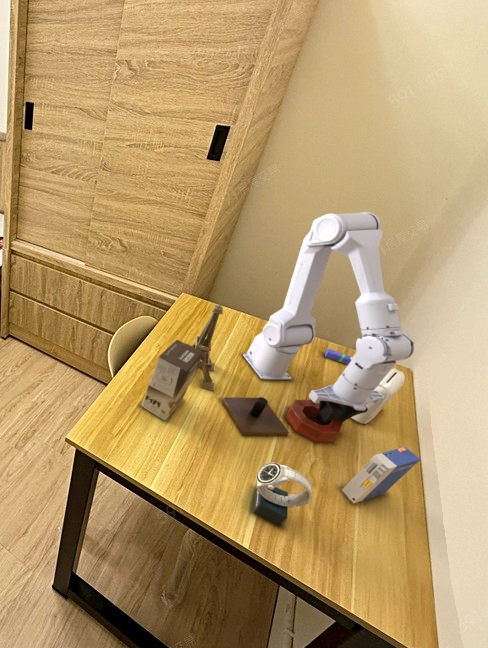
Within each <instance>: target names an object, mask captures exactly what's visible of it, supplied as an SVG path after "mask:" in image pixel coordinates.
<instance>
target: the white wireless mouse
mask: <svg viewBox="0 0 488 648" xmlns="http://www.w3.org/2000/svg"><path fill="white" fill-rule="evenodd" d="M405 381H406V377H405V374H404V373H403V371H402V370H398V368H394V367H393V368H392V369H391V370H390V371H389V373H388V374H387V375H386V376H385V378H384V379H383V380H382V381H381V382H380V384H379V385H378V386H377V387H376V388H375V390H374V391H378V392H379V393H380V394H381V395H383V396H384V397H385V398H384V399H383V400H382V401H381V403H374V402H371V403H369V404H366V405H365V406H366V407H367V408H368V411H367V412H365V413H361V414H358V415H355V416H353V417H351V418H350V419H352V420H354V421H355V422H357V423H360V424H363V425H366V424H368V423H370V422H371V421H373V419H374V418H375V417H376V416H377V415H378V414H379V413H380V412H381V410H382V409H383V408H384V407H385V406H386V405H387V403H388V402H389V401H390V400H391V399H392V398H393V397H394V396H395V395H396V393H398V391H399V390H400V389H401V387H402V386H403V385H404V383H405Z"/></svg>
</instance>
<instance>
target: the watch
mask: <svg viewBox="0 0 488 648" xmlns="http://www.w3.org/2000/svg"><path fill="white" fill-rule="evenodd" d="M256 481H257V483H256V488H255V491H254V501H253V502H254V503H253V511H252V512H253V514H254V515H256V516H259V517H260V518H263V519H265V520H266V521H268V522H271V523H272V524H275V525H277V526H279V527H281V526H282V524H283V523H284V522H285V521H286V520H287V519H288V512H289V511H288V508H289V509H291V508H298V507H302V506H305V505H308V504H310V501H311V500H312V498H313V495H312V484H311V481H309V479H308V478H307V477H306V476H305V475H304V474H303V473H301V472H300V471H298V470H296V469H294V468H291V467H290V466H288V465H284V464H279V463H278V462H275V461H271V462H268V463H266V464H264V465H263V466H261V467H260V468H259V470H258V471H257V473H256ZM289 481H293V482H295V483H297V484H299V486H301V487H303V488H304V489H305V490H302V491H301V492H298V493H292V494H289V492H288V491H286V490H284V489H281V488H279V486H281V485H282V484H284V483H288V482H289Z"/></svg>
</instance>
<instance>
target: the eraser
mask: <svg viewBox="0 0 488 648" xmlns="http://www.w3.org/2000/svg"><path fill="white" fill-rule="evenodd" d="M324 358H327V359H330V360H334V361H336V362H339V363H342V364H345V365H346V366H348V365H349V363H350V362H351V360H352V359H353V358H354V357H353V356H351V355H348V354H345V353H343V352H340V351H337V350H334V349H331V348H327V349H326V351H325V353H324Z"/></svg>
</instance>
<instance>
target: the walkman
mask: <svg viewBox="0 0 488 648" xmlns="http://www.w3.org/2000/svg"><path fill="white" fill-rule="evenodd" d="M420 461H421V458H420V457H419V456H418V455H416V454H415V453H414V452H413V451H411V450H410V449H409V448H407V446H401V447H398V448H395V449H391V450H388V451H384V452H381V453H377V454H374V455H373V456H372V457H371V458H370V460H368V461H367V463H366V464H365V465H364V466H363V467H362V468H361V469H360V470H358V472H356V474H355V475H354V476H353V477H352V478H351V479H350V480H349V481H348V483H347V484H346V485H345V486H344V487H343V488H342V489H341V492H343V494H345V496H346V497H347V498H348V499H349V501H350V502H351V503H353V504H357V503H361V502H362V501H367V500H369V499H372V498H375V497H379V496H381V495H384V494H386V493H387V492H388V491H389V490H390V489H391V488H393V486H394V485H395V484H396V483H397V482H398V481H400V480H401V479H402V478H403V477H404V476H405V475H406V474H407V473H408V472H409V471H410V470H411V469H412V468H413V467H415V465H417V464H418V463H419V462H420Z"/></svg>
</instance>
